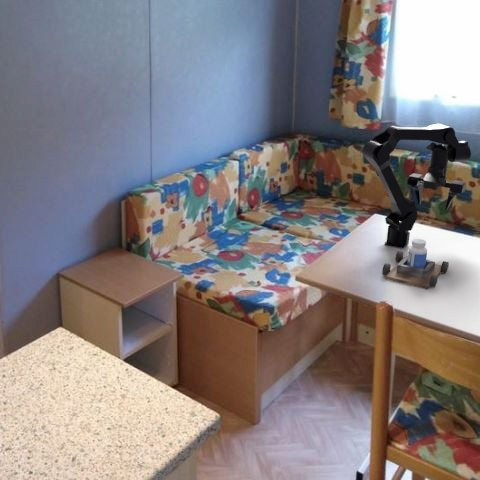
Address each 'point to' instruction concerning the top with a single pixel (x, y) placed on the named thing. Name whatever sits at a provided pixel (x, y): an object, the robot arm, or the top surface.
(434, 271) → the chassis
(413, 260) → the pill bottle
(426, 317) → the top surface
